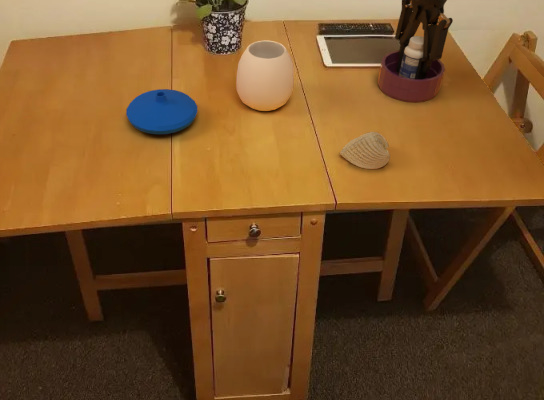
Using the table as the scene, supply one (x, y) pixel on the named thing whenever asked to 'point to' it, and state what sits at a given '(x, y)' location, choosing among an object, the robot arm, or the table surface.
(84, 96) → the table surface
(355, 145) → the seashell
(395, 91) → the bowl
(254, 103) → the white rounded pot
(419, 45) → the pill bottle
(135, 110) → the blue lid with knob
